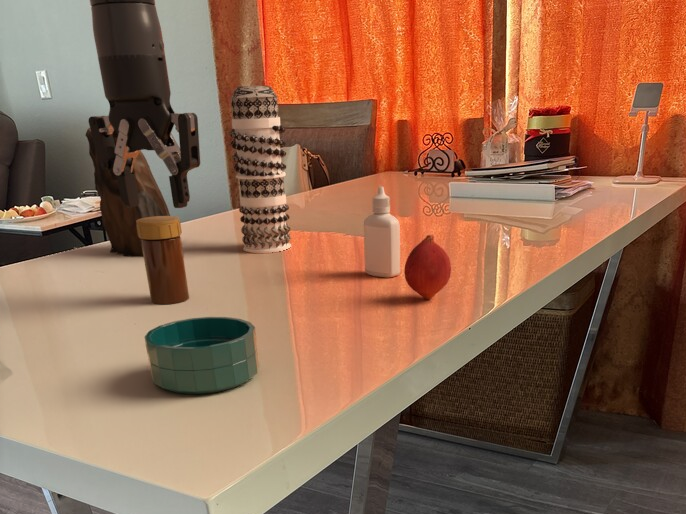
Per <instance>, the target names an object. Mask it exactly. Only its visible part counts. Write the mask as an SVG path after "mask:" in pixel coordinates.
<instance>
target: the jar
mask: <svg viewBox="0 0 686 514" xmlns="http://www.w3.org/2000/svg"><path fill="white" fill-rule="evenodd" d="M141 245H142V251H143V256H142V257H143V261H144V267H145V273H146V278H147V284H148V290H149V296H150V302H151V303H153V304H156V305H175V304H179V303H180V304H181V303H183V302H186V301H189V299H190V293H189V286H188V279H187V272H186V265H185V259H184V251H183V246H182V237H181V235H180V236H177V237H173V238H168V239H156V240H148V239H141Z"/></svg>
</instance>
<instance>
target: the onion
mask: <svg viewBox="0 0 686 514" xmlns="http://www.w3.org/2000/svg"><path fill="white" fill-rule="evenodd" d="M403 270H404V271H403V272H404V279H405V281H406V283H407V285H408V286H409V287H410V288H411V289H412V290H413V291H414V292H416V293H417V294H418V295H420V296H421V297H422V298H423V299H425V300H432V299H433V298H434V297H435V296H436V295H437V294H438V293H439V292H441V291H442V290H443V289H444V288H445V287H446V286H447V284H448V282H449V280H450V278H451V273H452V263H451V260H450V257H449V255H448V253H447V252H446V250H445V249H444V248H443V247H441V246H440V245H439V244H438V243H436V242H435V235H434V234H433V233H429V234H427V235H426V236H425V238H423V239H422V240H421V242H419V243H418V244H417V245H415V246H414V247H413V248H412V250H411V251H410V253H409V255H408V256H407V258H406V261H405V264H404V269H403Z"/></svg>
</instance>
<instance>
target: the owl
mask: <svg viewBox="0 0 686 514" xmlns="http://www.w3.org/2000/svg"><path fill="white" fill-rule="evenodd" d="M112 134H113V138H114V142H115V146H116V143H117V139H118V133H117V132H116V131H115V129H114V131H113V133H112ZM85 137H86V139H87V142H88V152H89V153H88V155H89V157H90V158H91V161H92V164H93V168H94V173H93V177H94V185H95V186H94V188H95V191H96V192H97V194H98V195H99V199H100V201H99V210H100V214H101V222H102V225H103V228H104V230H105V233H106V235H107V237H108V241H109V243H110V250H109V252H110V253H112V254H113V253H114V254H116V255H123V256H124V257H144V256H143V251H142V245H141V238H139V237H138V233H137V227H136V225H137V223H136V220H138V219H141V218H146V217H155V216H171V213H170V209H169V208H168V205H167V203H166V200H165V198H164V196H163V194H162V192H161V189H160V187H159V185H158V184H157V181H156V179H155V177H154V175H153V172H152V170H151V166H150V165H149V162H148V160H147V159H146V156H145V154H144V153H143V152H142V150H140V152H139V155H138V157H136V159H135V163H134V167H133V171H132V173H131V174H135V180H136V186H137V191H138V197H139V205H138V206H136V207H126V206H125V203H124V202H123V201H122V200H121V196H120V191H119V186H118V180H117V176H116V175H115V173H113V172H111V171H109V170H103V169H102V168H101V167H100V163H99V160H98V156H97V152H96V148H95V144H94V141H93V137H92V133H91V129H90V127H88V128H87V129H86V132H85Z"/></svg>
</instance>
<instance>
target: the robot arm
mask: <svg viewBox="0 0 686 514" xmlns="http://www.w3.org/2000/svg"><path fill="white" fill-rule="evenodd" d="M89 5H90V6H91V7H90V10H91V20H92V21H91V23H92V32H93V38H94V43H95V44H94V45H95V50H96V54H97V60H98V67H99V71H100V76H101V82H102V87H103V92H104V97H105V99H106V100H107V101H108V104H109V111H108V115H96V116H95V115H94V116H93V115H92V116H90V117H89V118H88V125H89V128H90V129H91V133H92V137H93V141H94V144H95V148H96V152H97V156H98V160H99V163H100V167H101V168H102V169H103V170H109V171H111V172H113V173H115V175H116V176H117V180H118V186H119V191H120V196H121V200H122V201H123V202H124V203H125V206H126V207H136V206H138V205H139V197H138V191H137V186H136V180H135V174H131V173H132V171H133V167H134V163H135V159H136V157H138V155H139V152H140V150H141V151H144V150H145V151H154V152H155V154H156V156H157V157H158V158H159V159H161V160H162V162H163V163H164V165H165V167H166V168H167V170H168V172H169V173H170V174H171V175H169V176H168V179H169V180H168V181H169V186H170V192H171V197H172V198H171V199H172V206H173V208H175V209H183V208H186V207H187V206H188V203H189V202H190V198H191V195H190V189H189V182H188V173H189V172H190V171H192V170H194V169H195V168H199V167H200V166H201V152H200V135H199V119H198V115H197V114H196V113H195V112H183V113H179V112H175V111H174V108H173V107H172V104H171V95H172V93H171V86H170V79H169V73H168V65H167V59H166V52H165V43H164V38H163V37H164V36H163V31H162V26H161V23H160V19H159V16H158V11H157V6H156V0H89ZM174 127H175V128H174ZM114 129H115V131H116V132H117V133H118V139H117V143H116V146H115V142H114V138H113V134H112V133H113V131H114ZM173 129H175V131H176V132H177V133H178V140H179V144H178V143H177V141H176V139H175V138H174V136H173V134H172V132H173Z"/></svg>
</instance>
